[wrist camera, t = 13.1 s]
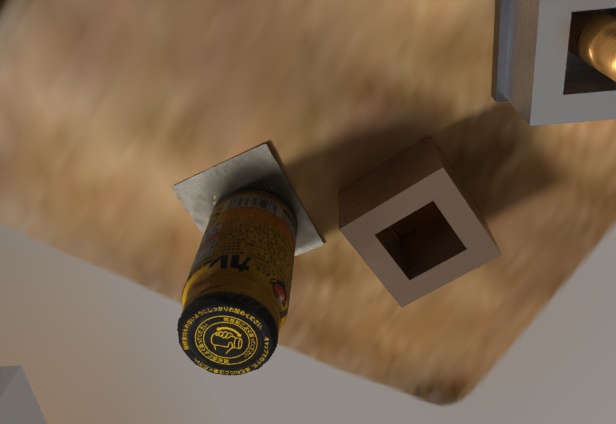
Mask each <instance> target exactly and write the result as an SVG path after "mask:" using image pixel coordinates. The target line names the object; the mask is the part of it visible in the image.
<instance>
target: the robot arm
mask: <svg viewBox="0 0 616 424" xmlns="http://www.w3.org/2000/svg"><path fill="white" fill-rule="evenodd" d="M0 424H47V423H46V420H45V418H44V416H43V414H42V411H41V409H40V407H39V405H38V402H37V400H36V398H35V396H34V393H33V391H32V389H31V387H30V384H29V382H28V380H27V377H26V375H25V373H24V371H23V368H22V366H4V367H0Z"/></svg>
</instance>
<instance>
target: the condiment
mask: <svg viewBox="0 0 616 424" xmlns="http://www.w3.org/2000/svg"><path fill="white" fill-rule="evenodd" d="M271 187H272V188H273V189H272V190H271V189H270V188H271ZM171 188H172V189H173V191H174V192H175V194H176V196H177V197H178V199H179V200H180V201H181V203H182V204H183V206H184V207H185V209H186V211H187V212H188V213H189V214H190V216H191V217H192V219H193V221H194V222H195V224H196V225H197V226H198V228H199V229H200V231H201V232H202V233H203V235H204V236H203V238H202V241H201V244H200V247H199V249H198V252H197V254H196V257H195V260H194V263H193V265H192V267H191V271H190V273H189V276H188V279H187V282H186V284H185V287H184V289H183V293H182V297H183V309H182V314H181V317H180V318H179V320H178V321H179V322H178V329H177V330H178V336H179V343H180V345H181V347H182V349H183V351H184V352H185V353H186V355H187V356H188V357H189V358H190V359H191V360H192V361H193V362H194V363H195V364H196V365H198V366H200V367H202V368H204V369H206V370H207V371H209V372H212V373H216V374H222V375H240V374H244V373H247V372H250V371H253V370H256V369H259V368H260V367H261V366H262V365H263V364H264V363H266V362H267V361H268V360H269V358H270V357H271V356H272V354H273V352H274V351H275V348H276V347H277V343H278V334H279V331H280V328H281V326H282V325H283V324H284V321H285V319H286V316H287V313H288V307H289V298H290V289H291V281H292V272H293V265H294V256H296V255H299V254H302V253H305V252H307V251H310V250H312V249H315V248H317V247H320V246H322V245H324V244H323V242H322V240H321V238H320V237H319V235H318V233H317V231H316V229H315V228H314V226H313V224H312V222H311V221H310V219H309V217H308V215H307V213H306V212H305V210H304V208H303V207H302V205H301V203H300V201H299V200H298V198H297V196H296V194H295V193H294V191H293V190H292V188H291V187H290V185H289V183H288V181H287V179H286V177H285V176H284V174H283V172H282V170H281V168H280V167H279V165H278V163H277V162H276V160H275V159H274V157H273V155H272V154H271V152H270V150H269V148H268V147H267V145H266V144H263V145H261V146H259V147H257V148H254V149H251V150H249V151H247V152H245V153H243V154H240V155H238V156H236V157H234V158H231V159H229V160H227V161H225V162H223V163H221V164H219V165H217V166H215V167H212V168H210V169H208V170H206V171H204V172H202V173H200V174H198V175H196V176H193V177H191V178H189V179H187V180H185V181H183V182H181V183H179V184H177V185H175V186H172V187H171ZM214 195H216V199H215V200H213V196H214ZM213 201H215V202H216V203H215V205H213V204H212V203H213Z"/></svg>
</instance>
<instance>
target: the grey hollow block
mask: <svg viewBox="0 0 616 424" xmlns="http://www.w3.org/2000/svg"><path fill="white" fill-rule="evenodd" d="M606 8H612V12H611V15H612V16H614V17H616V0H510V8H509V26H508V43H507V61H506V79H505V96H504V97H505V98H506V99H507V100H508V101H509V102H510V104H511V105H512V106H513V107H514V108H515V109H516V111H517V112H518V113H519V114H520V115H521V116H522V117H523V119H524V120H525V121H526V122H527V123H528V124H529V126H536V125H548V124H560V123H572V122H584V121H596V120H608V119H616V82H615V81H614V80H612V79H611V78H609V77H607V76H606V75H604V74H603V73H601V72H600V71H598V70H597V69H595V68H594V67H592V66H591V65H589V64H581V65H570V66H566V61H567V51H568V42H569V32H570V23H571V13H572V12H576V11H586V10H596V9H606Z"/></svg>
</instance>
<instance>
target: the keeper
mask: <svg viewBox="0 0 616 424" xmlns="http://www.w3.org/2000/svg"><path fill="white" fill-rule="evenodd" d="M509 8H510V0H495V21H494V43H493V66H492V89H491V96H492V97H493V98H494V100H495V101H496V102H498V101H508V100H507V99H506V98H505V97H504V96H505V79H506V61H507V43H508V26H509ZM611 12H612V8H606V9H596V10H586V11H576V12H572V13H571V23H570V32H569V42H568V51H567V61H566V66H570V65H581V64H589V65H591V66H592V67H594V68H595V69H597V70H598V71H600V72H601V73H603V74H604V75H606V76H607V77H609V78H611V79H612V80H614V81H615V82H616V17H614V16H612V15H611Z"/></svg>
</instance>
